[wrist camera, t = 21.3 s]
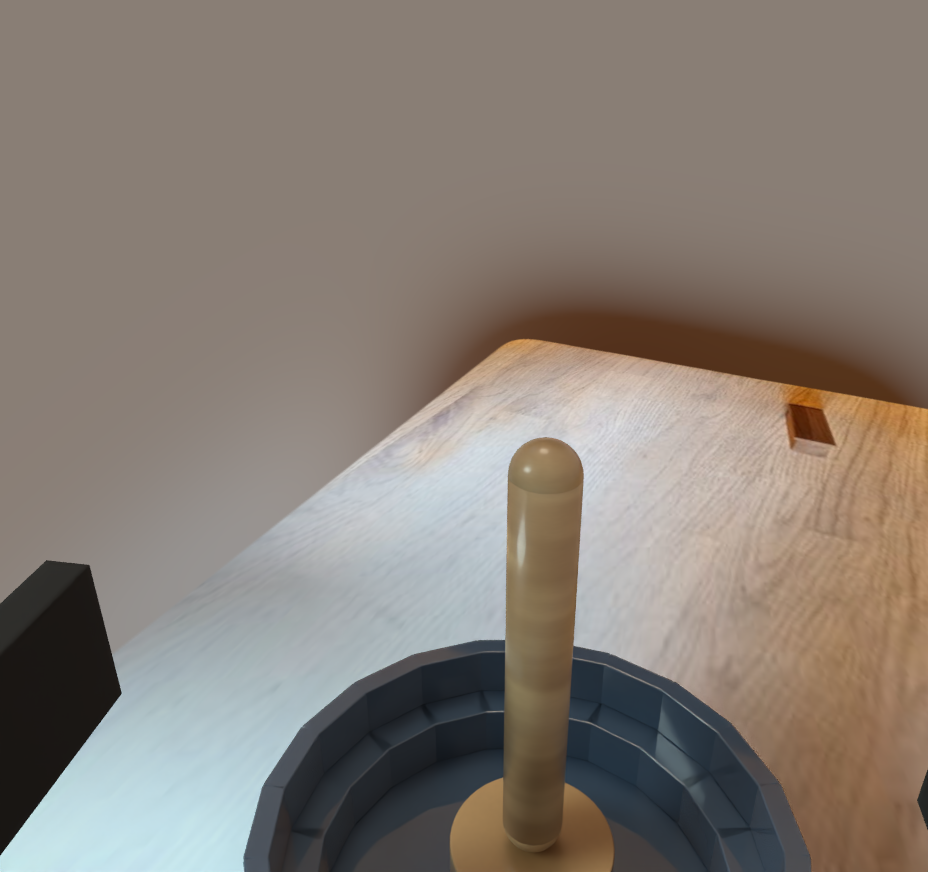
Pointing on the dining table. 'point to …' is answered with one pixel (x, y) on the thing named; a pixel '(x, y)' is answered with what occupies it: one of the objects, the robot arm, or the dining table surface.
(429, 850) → the dark grey round dish
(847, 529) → the dining table surface
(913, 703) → the dining table surface
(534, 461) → the beech masher
